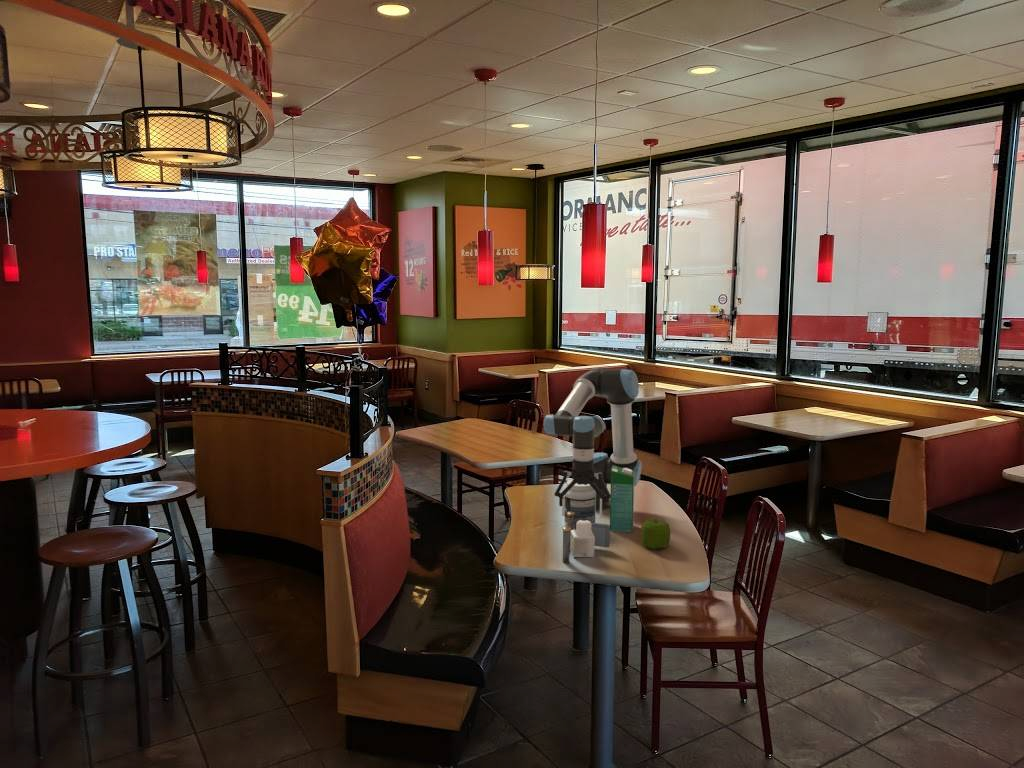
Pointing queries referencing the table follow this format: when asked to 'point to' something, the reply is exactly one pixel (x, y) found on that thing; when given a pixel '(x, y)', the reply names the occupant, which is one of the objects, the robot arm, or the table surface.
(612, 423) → the robot arm
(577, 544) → the container
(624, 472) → the milk carton
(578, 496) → the supplement tub
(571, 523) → the gate posts
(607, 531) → the gate
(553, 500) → the table surface
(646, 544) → the apple
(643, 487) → the table surface
